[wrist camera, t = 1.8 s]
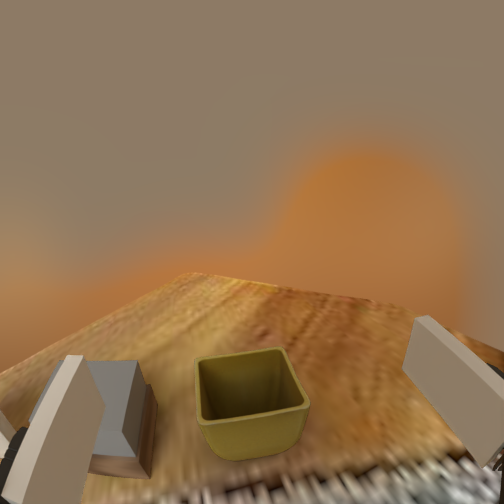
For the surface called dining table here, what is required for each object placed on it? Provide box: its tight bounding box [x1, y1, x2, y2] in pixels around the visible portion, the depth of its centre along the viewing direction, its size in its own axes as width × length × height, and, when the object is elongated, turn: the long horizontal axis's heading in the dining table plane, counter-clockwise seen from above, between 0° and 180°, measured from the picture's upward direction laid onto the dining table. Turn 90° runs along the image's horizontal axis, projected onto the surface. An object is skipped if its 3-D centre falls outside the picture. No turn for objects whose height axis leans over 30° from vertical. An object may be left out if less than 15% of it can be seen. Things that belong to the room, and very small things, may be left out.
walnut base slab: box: [88, 384, 158, 479], centre depth 25 cm, size 11×11×4 cm
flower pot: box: [194, 346, 311, 461], centre depth 25 cm, size 9×9×9 cm
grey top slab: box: [28, 360, 146, 457], centre depth 24 cm, size 10×10×4 cm
